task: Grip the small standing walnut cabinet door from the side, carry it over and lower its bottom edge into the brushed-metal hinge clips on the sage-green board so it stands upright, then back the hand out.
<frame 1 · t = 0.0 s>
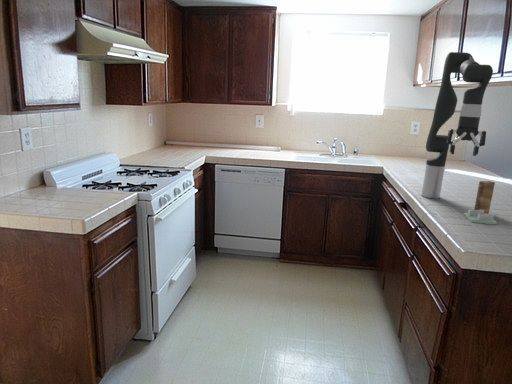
hand: (463, 154, 168), 29 cm above the countertop, tool pointing down, fingers open, 8 cm apart
hinge base: (479, 219, 179), on the countertop
door: (481, 212, 191), on the countertop
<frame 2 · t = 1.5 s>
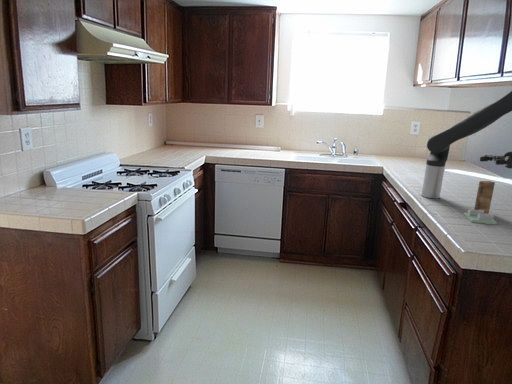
hand: (488, 160, 175), 26 cm above the countertop, tool horizontal, fingers open, 8 cm apart
nothing on the countertop moved.
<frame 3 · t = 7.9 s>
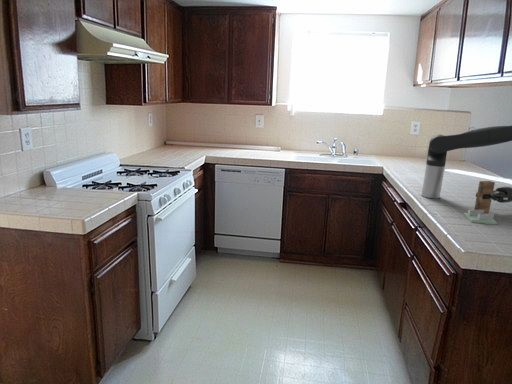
hand: (479, 195, 188), 8 cm above the countertop, tool horizontal, fingers closed on door, 3 cm apart
door: (481, 212, 191), on the countertop, touching gripper
when the fingers open (11 cm above the countertop, at t = 13.4 s): door drops 1 cm, resting on hinge base.
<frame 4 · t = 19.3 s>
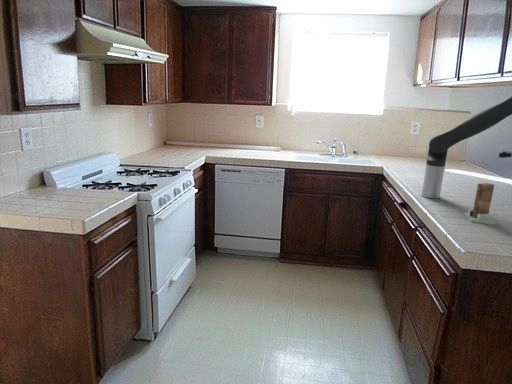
hand: (508, 156, 177), 28 cm above the countertop, tool horizontal, fingers open, 8 cm apart
door: (479, 217, 179), point 1 cm above the countertop, touching hinge base
at the end: door 0.1 cm off-centre on the hinge base, point 1.2 cm above the hinge base's base; door tilted 0°; the gripper is holding nothing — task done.
